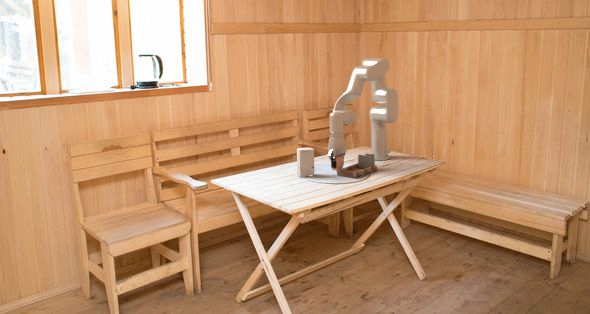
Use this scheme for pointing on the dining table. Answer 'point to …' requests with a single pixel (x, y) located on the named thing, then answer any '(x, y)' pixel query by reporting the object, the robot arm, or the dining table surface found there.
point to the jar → (338, 162)
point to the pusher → (366, 160)
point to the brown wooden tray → (355, 171)
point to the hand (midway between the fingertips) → (337, 166)
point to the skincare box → (305, 162)
